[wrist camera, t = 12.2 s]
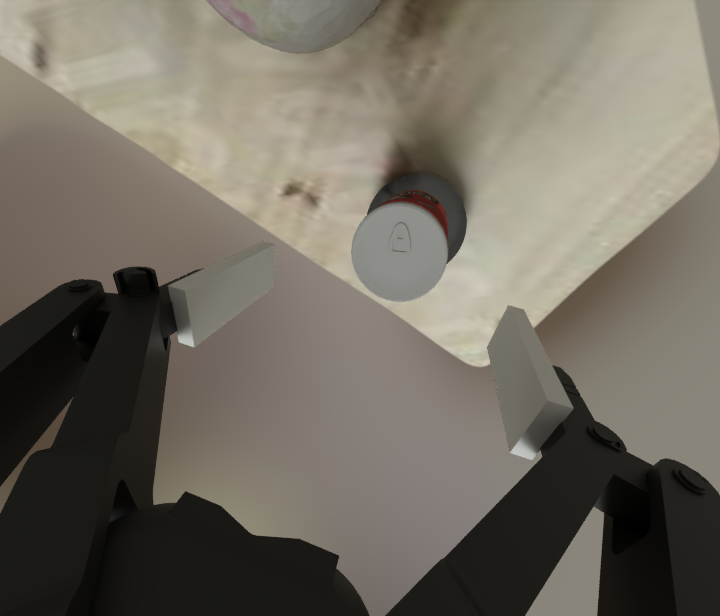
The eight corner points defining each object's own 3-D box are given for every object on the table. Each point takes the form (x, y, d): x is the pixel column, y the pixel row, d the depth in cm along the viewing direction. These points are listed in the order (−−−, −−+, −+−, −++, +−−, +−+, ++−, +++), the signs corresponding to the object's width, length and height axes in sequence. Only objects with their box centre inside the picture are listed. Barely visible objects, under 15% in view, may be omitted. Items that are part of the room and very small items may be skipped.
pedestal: (384, 163, 34) (375, 164, 30) (478, 182, 32) (483, 186, 28) (368, 251, 39) (358, 262, 35) (447, 271, 38) (447, 285, 33)
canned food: (442, 180, 29) (440, 190, 19) (452, 255, 32) (455, 296, 22) (370, 198, 31) (338, 216, 22) (386, 267, 34) (363, 308, 25)
